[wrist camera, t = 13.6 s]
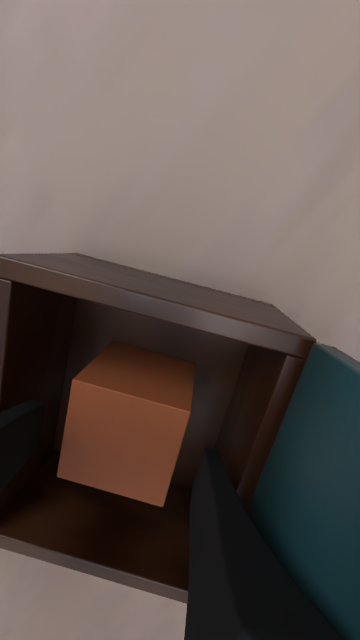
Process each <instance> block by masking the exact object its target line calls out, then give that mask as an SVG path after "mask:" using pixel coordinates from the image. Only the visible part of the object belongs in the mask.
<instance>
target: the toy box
mask: <svg viewBox="0 0 360 640" xmlns="http://www.w3.org/2000/svg"><path fill="white" fill-rule="evenodd" d="M112 342H117V343H121V344H124V345H128V346H132V347H135V348H139V349H143V350H146V351H150V352H154V353H157V354H161V355H165V356H168V357H172V358H176V359H180V360H183V361H187V362H191V363H194V364H196V368H195V378H194V388H193V398H192V409H191V415H190V418H189V422H188V425H187V428H186V432H185V435H184V438H183V442H182V445H181V449H180V452H179V455H178V459H177V462H176V465H175V469H174V472H173V476H172V479H171V482H170V486H169V489H168V492H167V496H166V499H165V503H164V506H163V507H160V506H156V505H153V504H149V503H146V502H142V501H139V500H135V499H132V498H128V497H125V496H122V495H118V494H115V493H111V492H108V491H104V490H101V489H97V488H94V487H90V486H87V485H83V484H80V483H76V482H73V481H70V480H66V479H63V478H59V477H57V471H58V465H59V459H60V453H61V447H62V441H63V434H64V428H65V422H66V416H67V410H68V404H69V398H70V391H71V385H72V380H73V379H74V378H75V377H76V376H77V375H78V374H79V373H80V372H81V371H82V370H83V369H84V368H85V367H86V366H87V365H88V364H89V363H90V362H91V361H93V360H94V359H95V358H96V357H97V356H98V355H99V354H100V353H101V352H102V351H103V350H104V349H105V348H106V347H107V346H108V345H109V344H111V343H112ZM313 343H316V339H315V338H314V337H312V336H311V335H310V334H309V333H307V332H306V331H305V330H304V329H302V328H301V327H300V326H299V325H297V324H296V323H295V322H294V321H292V320H291V319H290V318H289V317H287V316H286V315H285V314H284V313H282V312H281V311H280V310H278V309H277V308H276V307H275V306H273V305H272V304H268V303H264V302H260V301H256V300H253V299H249V298H245V297H241V296H237V295H233V294H230V293H226V292H222V291H218V290H214V289H211V288H207V287H203V286H199V285H195V284H192V283H188V282H184V281H180V280H176V279H172V278H169V277H165V276H161V275H157V274H153V273H150V272H146V271H142V270H138V269H134V268H131V267H127V266H123V265H119V264H115V263H112V262H108V261H104V260H100V259H96V258H92V257H89V256H85V255H81V254H77V253H71V254H70V253H63V254H0V412H3V411H5V410H7V409H10V408H12V407H14V406H17V405H19V404H22V403H24V402H27V401H29V400H32V399H33V400H36V401H40V402H44V403H45V410H44V417H43V424H42V431H41V439H40V443H39V444H38V446H37V447H36V449H35V450H34V452H33V453H32V455H31V456H30V457H29V459H28V460H27V462H26V463H25V464H24V465H23V467H22V468H21V469H20V470H19V471H18V472H17V474H16V475H15V476H14V477H13V478H12V479H11V480H10V482H9V483H8V484H7V485H6V486H5V487H4V488H3V490H2V491H1V492H0V548H3V549H6V550H9V551H13V552H16V553H19V554H23V555H26V556H29V557H33V558H36V559H39V560H43V561H46V562H49V563H53V564H56V565H59V566H63V567H66V568H70V569H73V570H76V571H80V572H83V573H86V574H90V575H93V576H96V577H100V578H103V579H106V580H110V581H113V582H116V583H120V584H123V585H126V586H130V587H133V588H136V589H140V590H143V591H146V592H150V593H153V594H156V595H160V596H163V597H167V598H170V599H173V600H177V601H180V602H183V603H188V591H189V535H190V503H191V494H192V486H193V482H194V479H195V476H196V473H197V470H198V466H199V463H200V460H201V457H202V454H203V451H204V448H205V447H206V448H209V449H213V450H216V451H219V453H220V455H221V458H222V460H223V463H224V465H225V467H226V470H227V472H228V474H229V477H230V479H231V481H232V483H233V486H234V488H235V490H236V492H237V494H238V496H239V498H240V500H241V502H242V504H243V506H244V508H245V509H246V511H247V509H248V506H249V504H250V501H251V499H252V496H253V494H254V491H255V489H256V486H257V484H258V481H259V478H260V476H261V473H262V471H263V468H264V466H265V463H266V461H267V458H268V456H269V453H270V451H271V448H272V446H273V443H274V441H275V438H276V436H277V433H278V431H279V428H280V426H281V423H282V421H283V418H284V416H285V413H286V411H287V408H288V405H289V403H290V400H291V398H292V395H293V393H294V390H295V388H296V385H297V383H298V380H299V378H300V375H301V373H302V370H303V368H304V365H305V363H306V360H307V358H308V355H309V353H310V350H311V348H312V345H313Z"/></svg>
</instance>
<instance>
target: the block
mask: <svg viewBox="0 0 360 640" xmlns="http://www.w3.org/2000/svg"><path fill="white" fill-rule="evenodd" d="M195 368H196V364H194V363H191V362H187V361H183V360H180V359H176V358H172V357H168V356H165V355H161V354H157V353H154V352H150V351H146V350H143V349H139V348H135V347H132V346H128V345H124V344H121V343H117V342H112V343H111V344H109V345H108V346H107V347H106V348H105V349H104V350H103V351H102V352H101V353H100V354H99V355H98V356H97V357H96V358H95V359H94V360H93V361H91V362H90V363H89V364H88V365H87V366H86V367H85V368H84V369H83V370H82V371H81V372H80V373H79V374H78V375H77V376H76V377H75V378H74V379H73V380H72V385H71V391H70V398H69V404H68V410H67V416H66V422H65V428H64V434H63V441H62V447H61V453H60V459H59V465H58V471H57V477H59V478H63V479H66V480H70V481H73V482H76V483H80V484H83V485H87V486H90V487H94V488H97V489H101V490H104V491H108V492H111V493H115V494H118V495H122V496H125V497H128V498H132V499H135V500H139V501H142V502H146V503H149V504H153V505H156V506H160V507H163V506H164V503H165V499H166V496H167V492H168V489H169V486H170V482H171V479H172V476H173V472H174V469H175V465H176V462H177V459H178V455H179V452H180V449H181V445H182V442H183V438H184V435H185V432H186V428H187V425H188V422H189V418H190V415H191V409H192V398H193V388H194V378H195Z"/></svg>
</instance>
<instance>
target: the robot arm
mask: <svg viewBox="0 0 360 640" xmlns="http://www.w3.org/2000/svg"><path fill="white" fill-rule="evenodd" d="M44 410H45V403H44V402H40V401H36V400H33V399H32V400H29V401H27V402H24V403H22V404H19V405H17V406H14V407H12V408H10V409H7V410H5V411H3V412H0V492H1V491H2V490H3V488H4V487H5V486H6V485H7V484H8V483H9V482H10V480H11V479H12V478H13V477H14V476H15V475H16V474H17V472H18V471H19V470H20V469H21V468H22V467H23V465H24V464H25V463H26V462H27V460H28V459H29V457H30V456H31V455H32V453H33V452H34V450H35V449H36V447H37V446H38V444H39V443H40V439H41V431H42V424H43V417H44ZM184 640H346V639H345V638H344V637H343V636H342V635H341V634H340V633H339V632H338V631H337V630H336V629H335V628H334V626H333V625H332V624H331V623H330V622H329V621H328V620H327V619H326V618H325V617H324V616H323V615H322V614H321V612H320V611H319V610H318V609H317V608H316V607H315V606H314V605H313V604H312V602H311V601H310V600H309V599H308V598H307V597H306V595H305V594H304V593H303V592H302V591H301V589H300V588H299V587H298V586H297V585H296V583H295V582H294V581H293V580H292V578H291V577H290V576H289V575H288V573H287V572H286V571H285V569H284V568H283V567H282V565H281V564H280V563H279V561H278V560H277V558H276V557H275V556H274V554H273V553H272V552H271V550H270V549H269V547H268V546H267V544H266V543H265V541H264V540H263V538H262V537H261V535H260V534H259V532H258V530H257V529H256V527H255V525H254V524H253V522H252V520H251V519H250V517H249V515H248V513H247V511H246V509H245V508H244V506H243V504H242V502H241V500H240V498H239V496H238V494H237V492H236V490H235V488H234V486H233V483H232V481H231V479H230V477H229V474H228V472H227V470H226V467H225V465H224V463H223V460H222V458H221V455H220V453H219V451H216V450H213V449H209V448H206V447H205V448H204V451H203V454H202V457H201V460H200V463H199V466H198V470H197V473H196V476H195V479H194V482H193V486H192V494H191V503H190V535H189V591H188V603H187V615H186V626H185V637H184Z"/></svg>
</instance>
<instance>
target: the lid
mask: <svg viewBox="0 0 360 640" xmlns="http://www.w3.org/2000/svg"><path fill="white" fill-rule="evenodd" d="M247 513H248V515H249V517H250V519H251V520H252V522H253V524H254V525H255V527H256V529H257V530H258V532H259V534H260V535H261V537H262V538H263V540H264V541H265V543H266V544H267V546H268V547H269V549H270V550H271V552H272V553H273V554H274V556H275V557H276V558H277V560H278V561H279V563H280V564H281V565H282V567H283V568H284V569H285V571H286V572H287V573H288V575H289V576H290V577H291V578H292V580H293V581H294V582H295V583H296V585H297V586H298V587H299V588H300V589H301V591H302V592H303V593H304V594H305V595H306V597H307V598H308V599H309V600H310V601H311V602H312V604H313V605H314V606H315V607H316V608H317V609H318V610H319V611H320V612H321V614H322V615H323V616H324V617H325V618H326V619H327V620H328V621H329V622H330V623H331V624H332V625H333V626H334V628H335V629H336V630H337V631H338V632H339V633H340V634H341V635H342V636H343V637H344V638H345V639H346V640H360V362H358V361H357V360H355V359H353V358H352V357H350V356H348V355H347V354H345V353H343V352H342V351H340V350H338V349H337V348H335V347H332V346H327V345H323V344H319V343H313V345H312V348H311V350H310V353H309V355H308V358H307V360H306V363H305V365H304V368H303V370H302V373H301V375H300V378H299V380H298V383H297V385H296V388H295V390H294V393H293V395H292V398H291V400H290V403H289V405H288V408H287V411H286V413H285V416H284V418H283V421H282V423H281V426H280V428H279V431H278V433H277V436H276V438H275V441H274V443H273V446H272V448H271V451H270V453H269V456H268V458H267V461H266V463H265V466H264V468H263V471H262V473H261V476H260V478H259V481H258V484H257V486H256V489H255V491H254V494H253V496H252V499H251V501H250V504H249V506H248V509H247Z"/></svg>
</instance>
